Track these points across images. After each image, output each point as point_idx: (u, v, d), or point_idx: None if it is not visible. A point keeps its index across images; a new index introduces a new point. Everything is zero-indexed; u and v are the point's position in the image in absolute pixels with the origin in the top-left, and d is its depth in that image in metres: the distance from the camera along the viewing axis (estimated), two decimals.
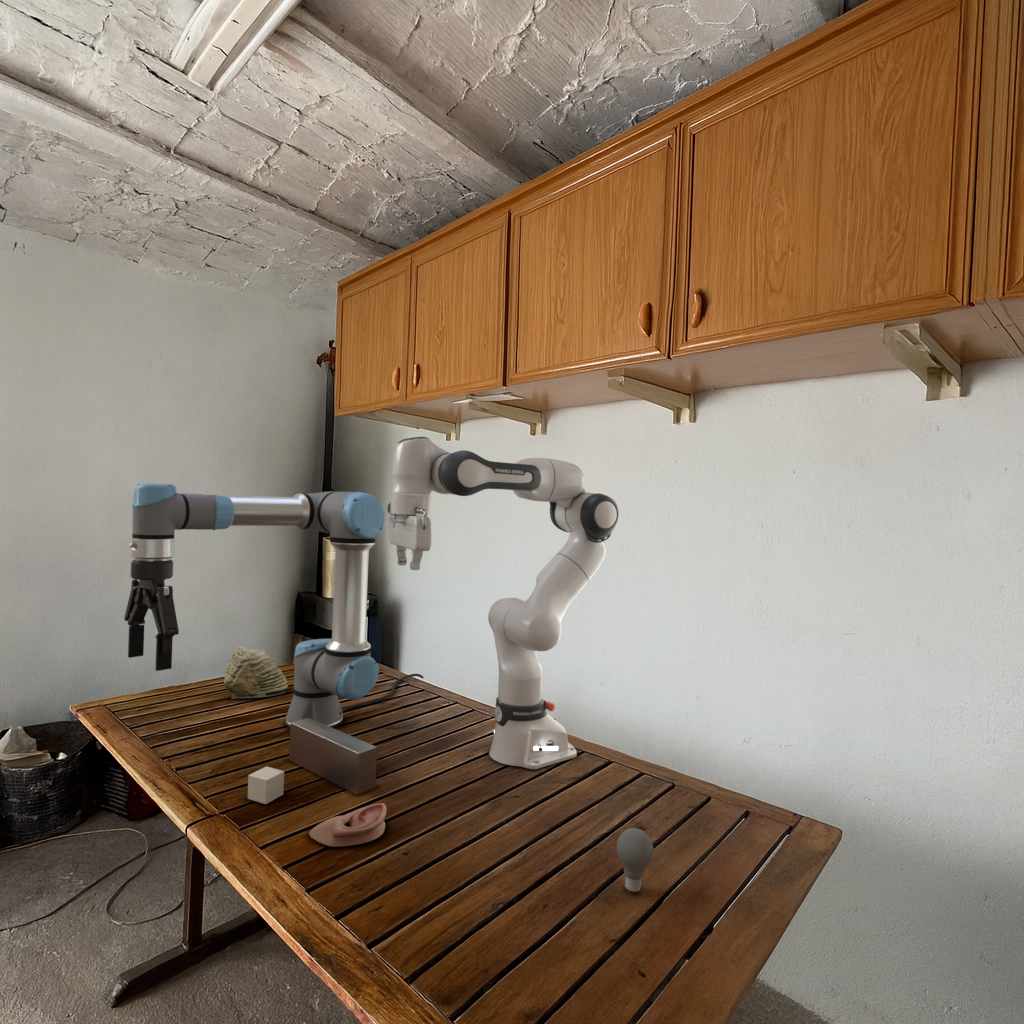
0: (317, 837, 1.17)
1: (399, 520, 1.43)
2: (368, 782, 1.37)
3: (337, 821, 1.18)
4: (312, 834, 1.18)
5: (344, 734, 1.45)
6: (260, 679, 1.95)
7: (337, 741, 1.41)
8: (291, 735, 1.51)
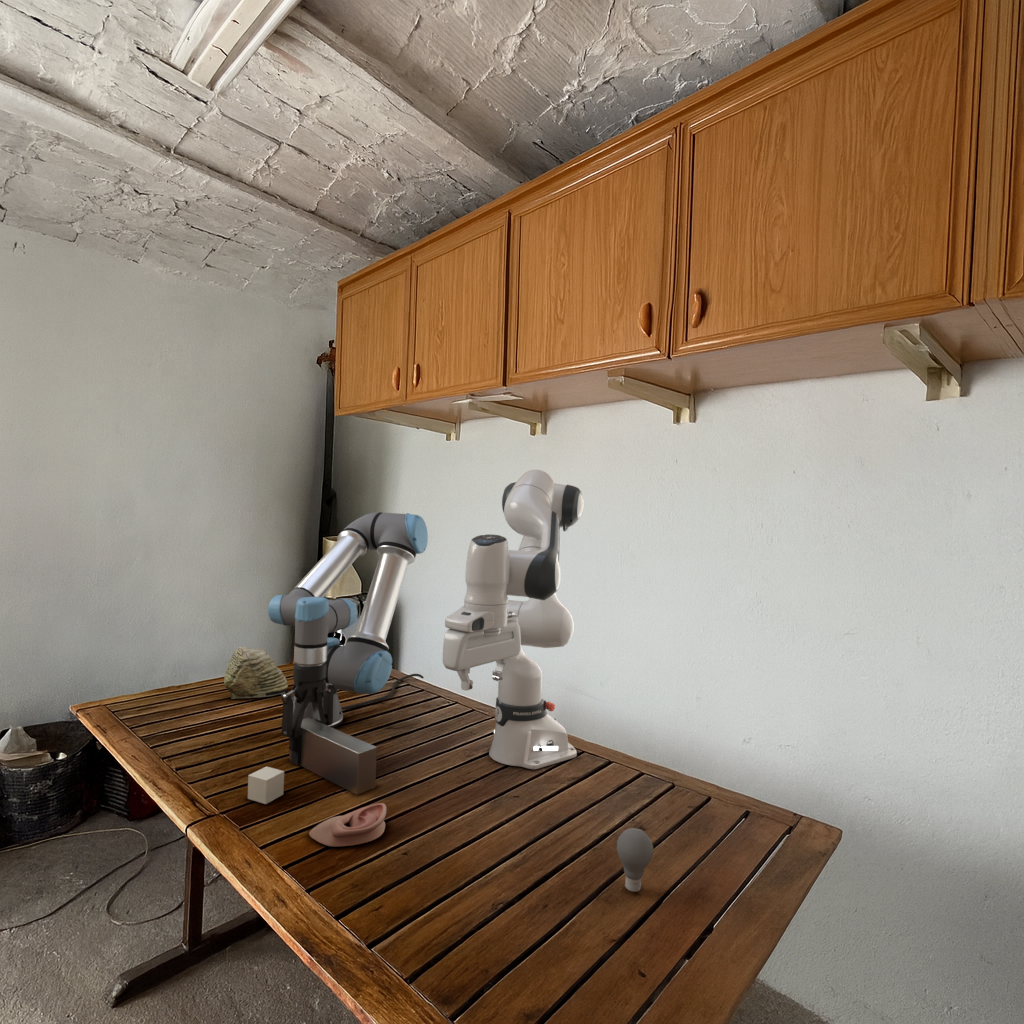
0: (317, 837, 1.17)
1: (499, 632, 1.26)
2: (368, 782, 1.37)
3: (337, 821, 1.18)
4: (312, 834, 1.18)
5: (344, 734, 1.45)
6: (260, 679, 1.95)
7: (337, 741, 1.41)
8: None
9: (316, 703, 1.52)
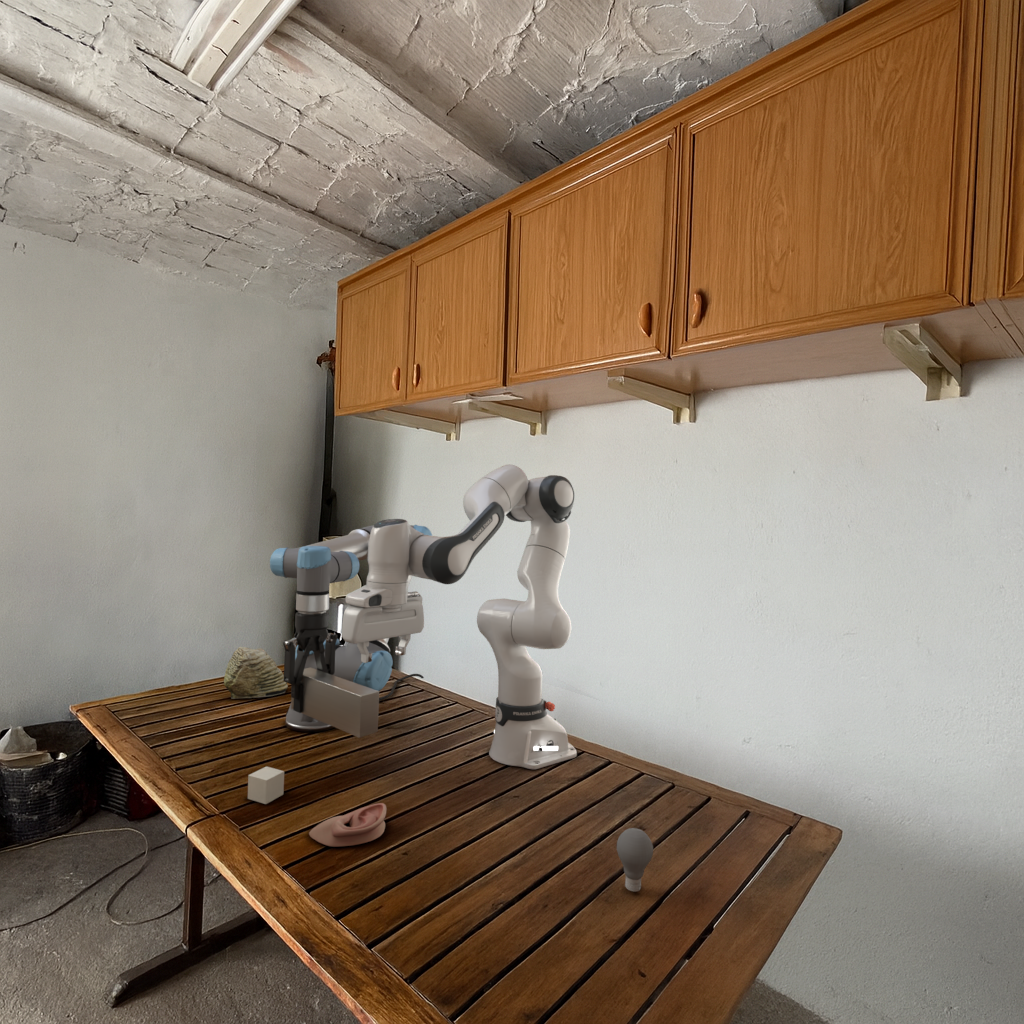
0: (317, 837, 1.17)
1: (399, 609, 1.35)
2: (370, 726, 1.37)
3: (337, 821, 1.18)
4: (312, 834, 1.18)
5: (346, 681, 1.45)
6: (260, 679, 1.95)
7: (339, 686, 1.41)
8: None
9: (318, 652, 1.52)
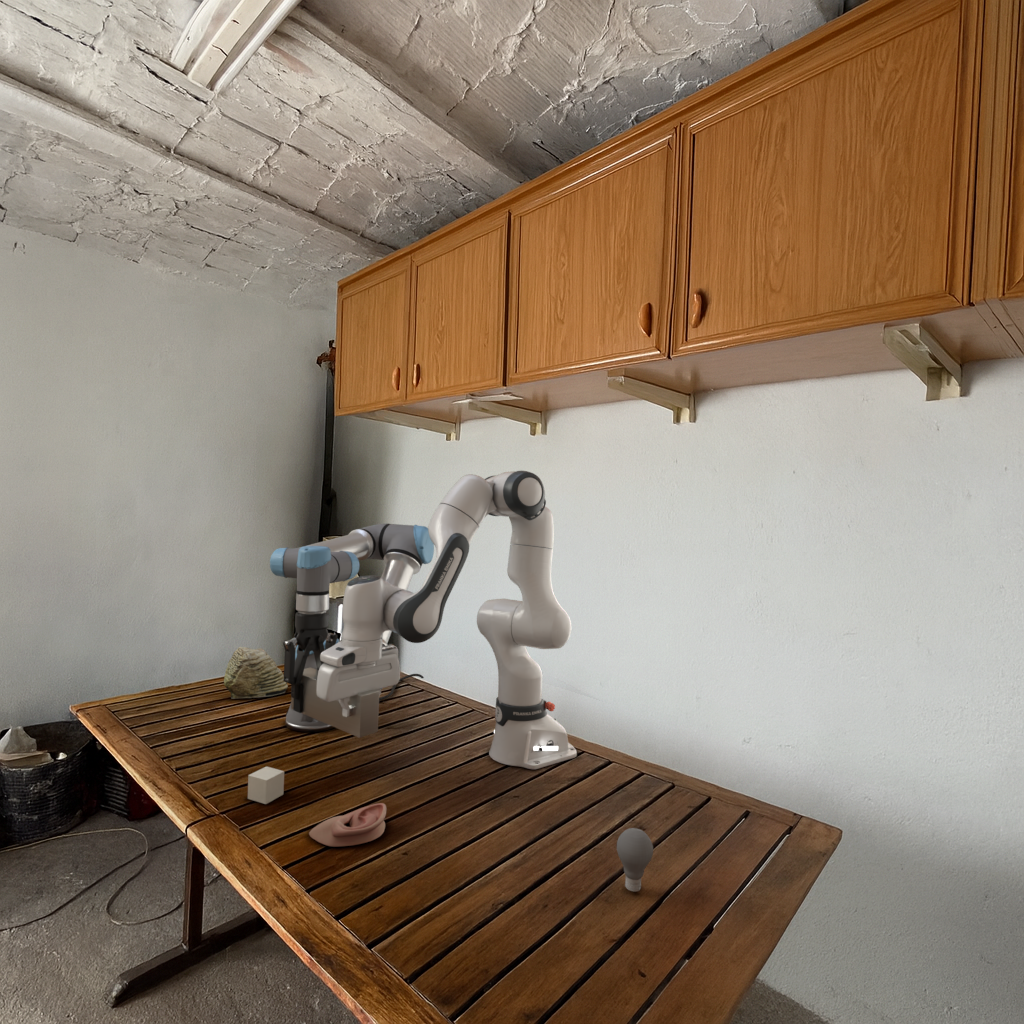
0: (317, 837, 1.17)
1: (374, 664, 1.38)
2: (370, 726, 1.37)
3: (337, 821, 1.18)
4: (312, 834, 1.18)
5: None
6: (260, 679, 1.95)
7: None
8: None
9: (318, 652, 1.52)
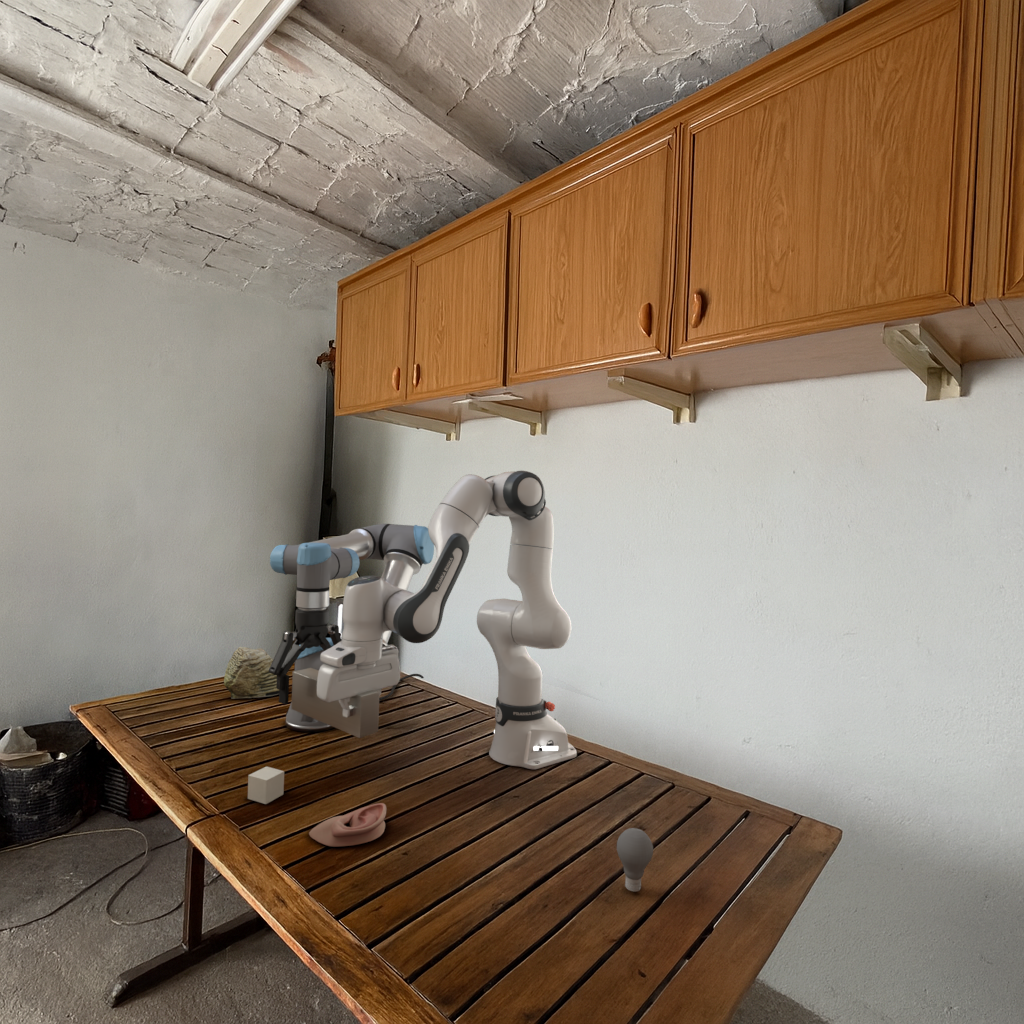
0: (317, 837, 1.17)
1: (374, 665, 1.38)
2: (370, 726, 1.37)
3: (337, 821, 1.18)
4: (312, 834, 1.18)
5: None
6: (260, 679, 1.95)
7: None
8: (293, 684, 1.51)
9: (324, 646, 1.53)
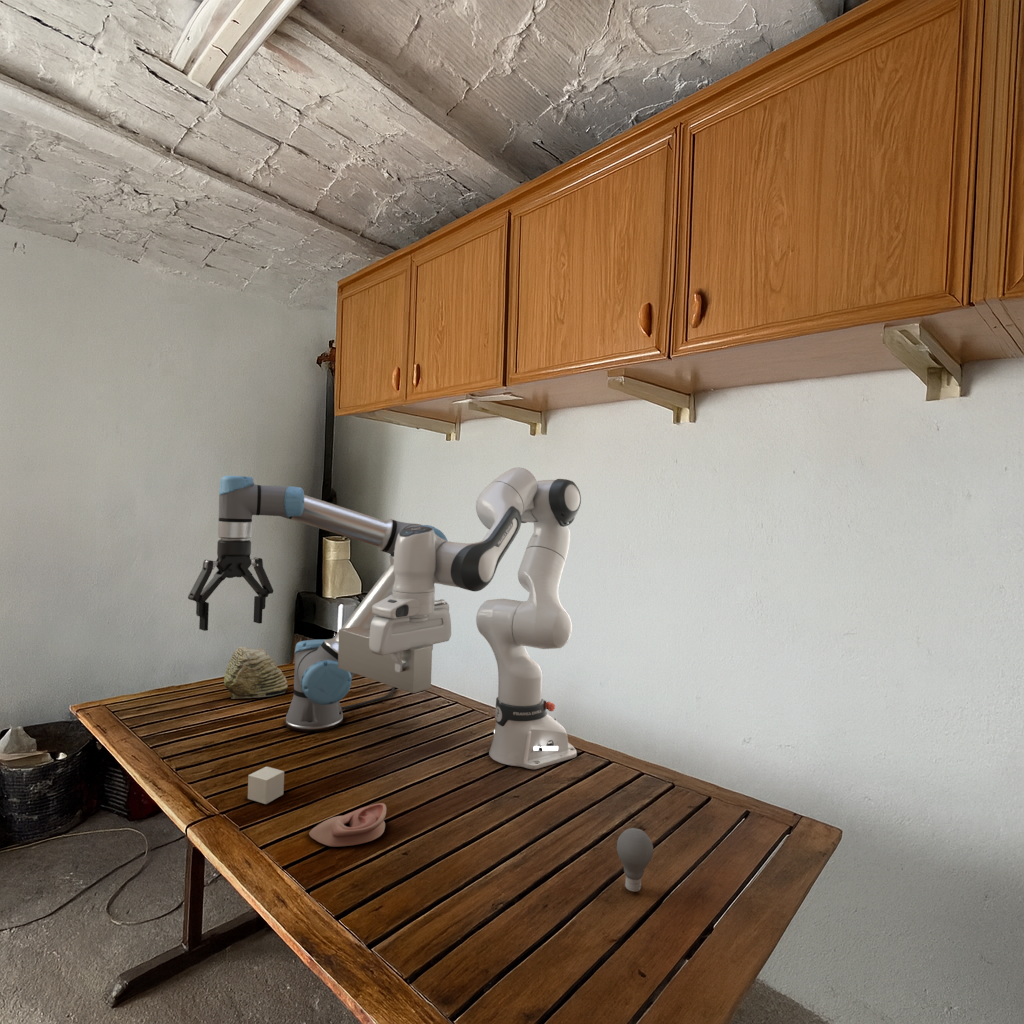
0: (317, 837, 1.17)
1: (426, 618, 1.33)
2: (423, 682, 1.32)
3: (337, 821, 1.18)
4: (312, 834, 1.18)
5: None
6: (260, 679, 1.95)
7: None
8: (340, 642, 1.46)
9: (246, 577, 1.56)
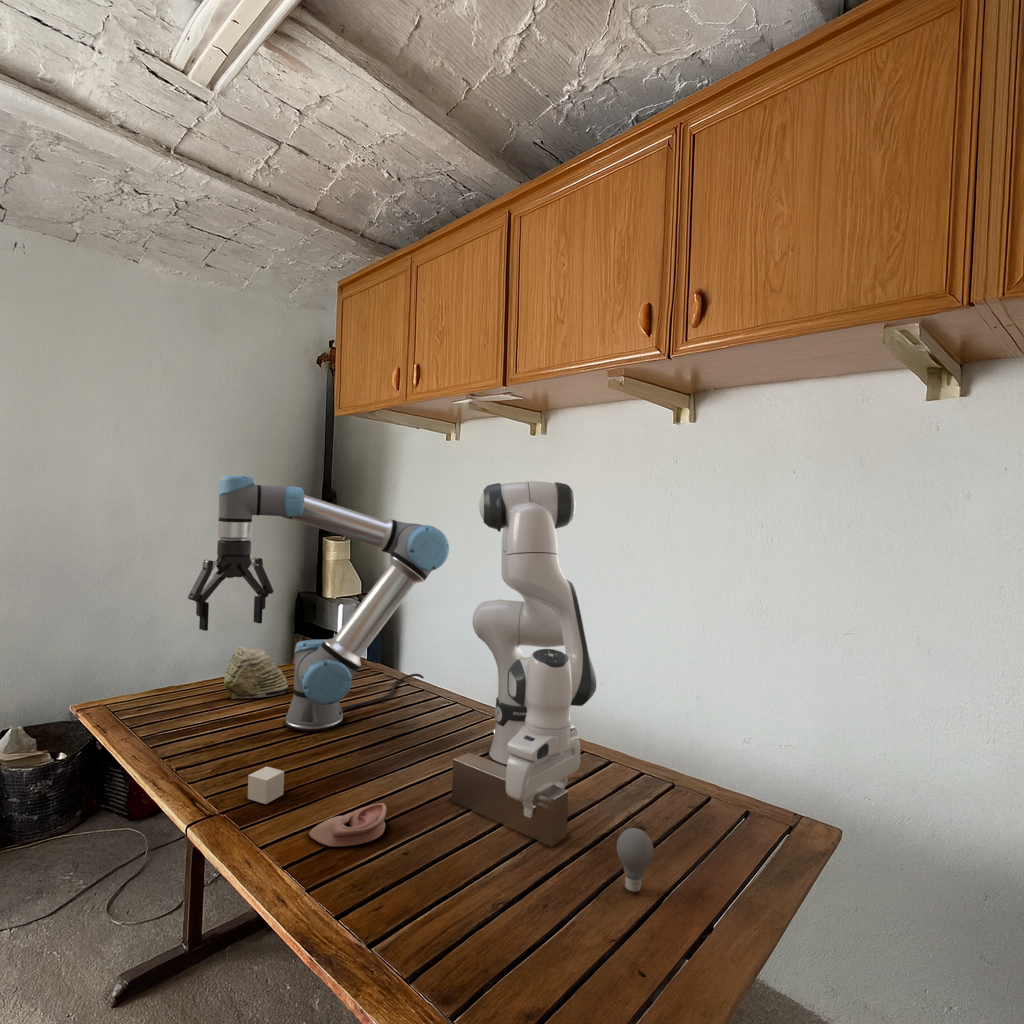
0: (317, 837, 1.17)
1: (562, 753, 1.21)
2: (560, 832, 1.20)
3: (337, 821, 1.18)
4: (312, 834, 1.18)
5: None
6: (260, 679, 1.95)
7: None
8: (455, 773, 1.34)
9: (246, 577, 1.56)
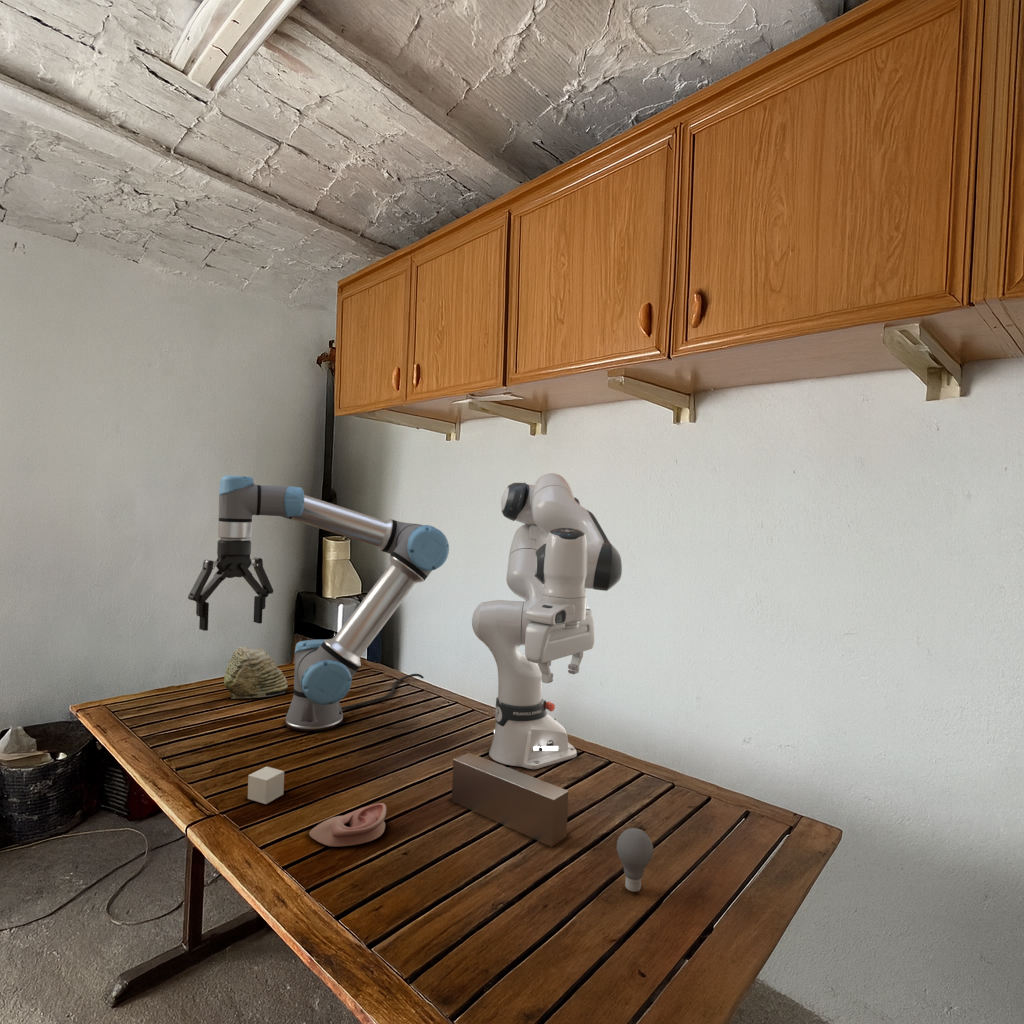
0: (317, 837, 1.17)
1: (578, 625, 1.26)
2: (560, 832, 1.20)
3: (337, 821, 1.18)
4: (312, 834, 1.18)
5: (522, 774, 1.28)
6: (260, 679, 1.95)
7: (519, 783, 1.24)
8: (455, 773, 1.34)
9: (246, 577, 1.56)
